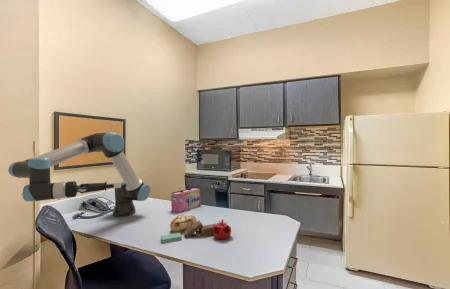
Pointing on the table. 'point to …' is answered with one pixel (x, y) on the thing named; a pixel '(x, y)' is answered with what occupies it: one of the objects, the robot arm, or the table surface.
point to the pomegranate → (221, 230)
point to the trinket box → (182, 223)
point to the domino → (171, 237)
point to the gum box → (185, 199)
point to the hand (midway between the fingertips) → (120, 184)
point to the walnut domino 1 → (193, 228)
